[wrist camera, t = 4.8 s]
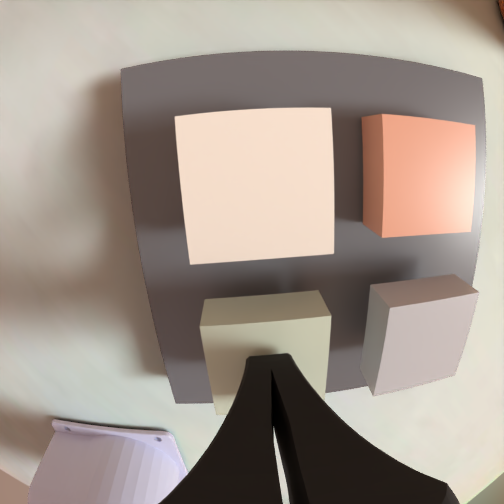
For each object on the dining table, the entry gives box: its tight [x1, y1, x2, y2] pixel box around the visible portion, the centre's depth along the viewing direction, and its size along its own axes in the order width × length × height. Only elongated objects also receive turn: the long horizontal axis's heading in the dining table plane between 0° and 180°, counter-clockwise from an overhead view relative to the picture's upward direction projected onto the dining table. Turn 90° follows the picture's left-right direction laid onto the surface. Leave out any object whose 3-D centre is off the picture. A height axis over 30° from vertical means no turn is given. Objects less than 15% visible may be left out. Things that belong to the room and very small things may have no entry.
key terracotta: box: [361, 114, 476, 238], centre depth 10 cm, size 4×4×2 cm
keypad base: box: [121, 51, 486, 404], centre depth 13 cm, size 15×15×2 cm
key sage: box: [200, 290, 331, 415], centre depth 11 cm, size 4×4×2 cm
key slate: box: [360, 274, 479, 396], centre depth 11 cm, size 4×4×2 cm
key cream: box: [175, 108, 334, 265], centre depth 9 cm, size 4×4×2 cm
